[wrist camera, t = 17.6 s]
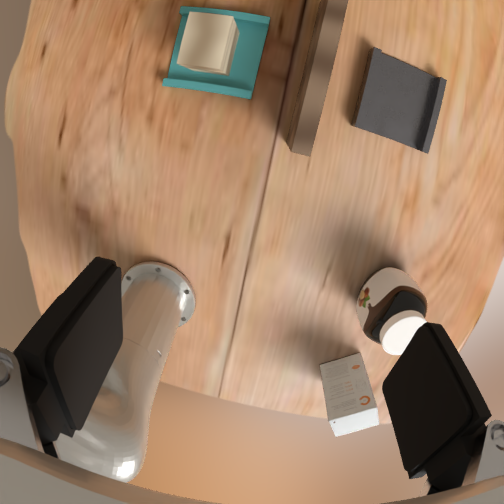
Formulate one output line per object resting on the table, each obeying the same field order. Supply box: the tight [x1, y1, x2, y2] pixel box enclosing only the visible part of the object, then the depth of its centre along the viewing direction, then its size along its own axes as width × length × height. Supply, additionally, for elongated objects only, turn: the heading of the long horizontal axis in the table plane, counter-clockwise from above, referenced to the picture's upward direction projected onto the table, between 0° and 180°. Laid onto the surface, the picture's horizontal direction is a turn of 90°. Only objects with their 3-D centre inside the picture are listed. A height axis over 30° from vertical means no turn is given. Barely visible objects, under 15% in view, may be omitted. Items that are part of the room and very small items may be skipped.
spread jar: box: [356, 267, 427, 355], centre depth 43 cm, size 12×11×12 cm
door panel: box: [286, 0, 348, 157], centre depth 30 cm, size 20×2×8 cm, turn 168°
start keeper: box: [351, 47, 447, 154], centre depth 34 cm, size 11×11×2 cm
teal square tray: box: [162, 6, 270, 99], centre depth 32 cm, size 11×11×2 cm
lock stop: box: [177, 12, 239, 76], centre depth 29 cm, size 4×7×8 cm
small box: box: [320, 353, 379, 437], centre depth 49 cm, size 8×6×13 cm
